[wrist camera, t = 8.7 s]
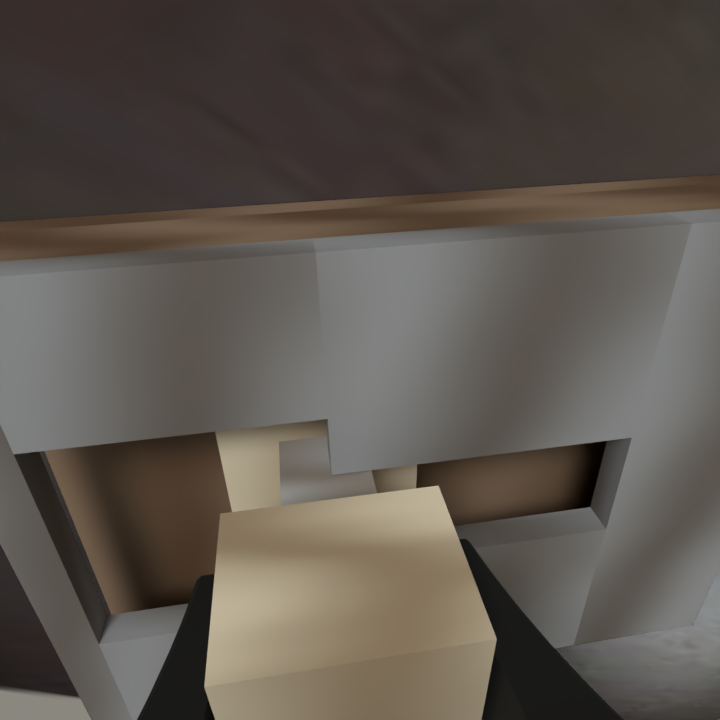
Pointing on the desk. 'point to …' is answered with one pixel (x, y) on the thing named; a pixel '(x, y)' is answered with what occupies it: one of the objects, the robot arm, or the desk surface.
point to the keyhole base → (367, 396)
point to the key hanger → (339, 591)
